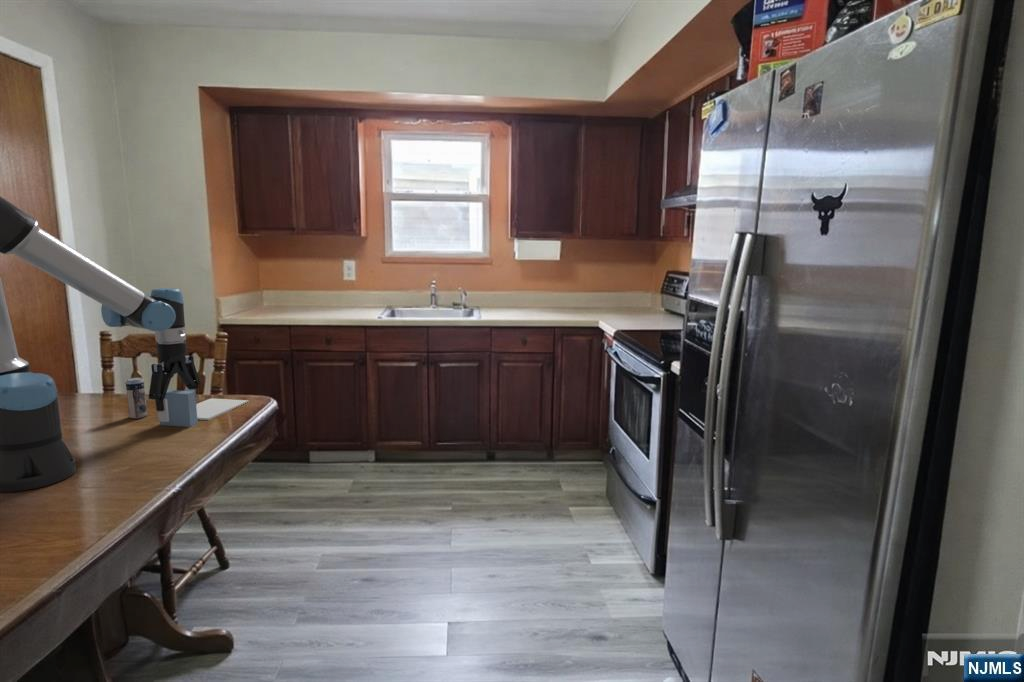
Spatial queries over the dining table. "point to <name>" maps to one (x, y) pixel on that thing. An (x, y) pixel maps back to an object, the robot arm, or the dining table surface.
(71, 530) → the dining table surface
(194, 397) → the block
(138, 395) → the beer can
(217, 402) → the mat
